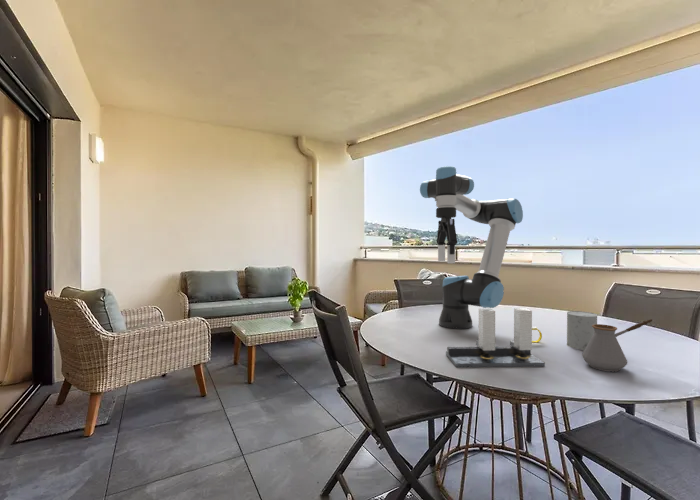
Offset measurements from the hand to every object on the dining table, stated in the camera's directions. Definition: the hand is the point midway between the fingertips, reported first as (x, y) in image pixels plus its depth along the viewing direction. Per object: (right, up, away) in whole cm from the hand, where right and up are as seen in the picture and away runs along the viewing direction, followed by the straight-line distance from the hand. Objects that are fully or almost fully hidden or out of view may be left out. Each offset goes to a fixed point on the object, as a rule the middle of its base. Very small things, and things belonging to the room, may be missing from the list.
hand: (446, 262), depth 136 cm
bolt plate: (+10, -32, -19) cm, 39 cm away
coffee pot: (+47, -32, -26) cm, 63 cm away
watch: (+34, -32, +1) cm, 47 cm away
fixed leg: (+20, -30, -17) cm, 40 cm away
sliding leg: (+8, -30, -17) cm, 36 cm away
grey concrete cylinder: (+49, -32, -5) cm, 59 cm away
